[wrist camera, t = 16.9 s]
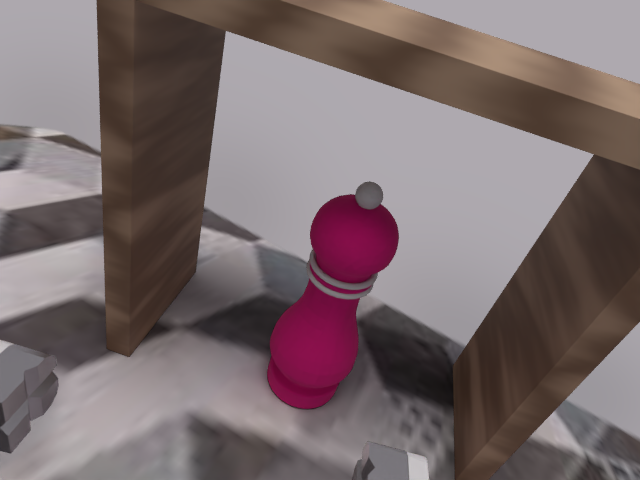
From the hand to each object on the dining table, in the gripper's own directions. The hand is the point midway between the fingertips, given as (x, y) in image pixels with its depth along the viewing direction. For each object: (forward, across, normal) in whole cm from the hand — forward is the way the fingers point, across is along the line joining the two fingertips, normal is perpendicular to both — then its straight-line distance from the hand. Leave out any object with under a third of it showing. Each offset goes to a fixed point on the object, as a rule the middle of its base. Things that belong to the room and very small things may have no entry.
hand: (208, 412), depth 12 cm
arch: (+23, -3, +20) cm, 31 cm away
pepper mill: (+21, -3, +20) cm, 30 cm away
